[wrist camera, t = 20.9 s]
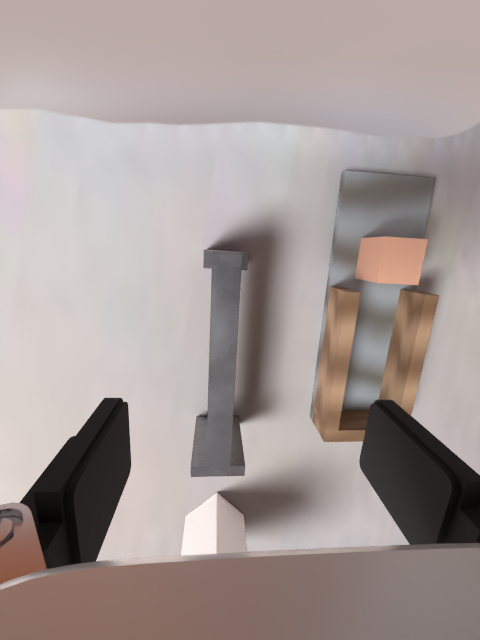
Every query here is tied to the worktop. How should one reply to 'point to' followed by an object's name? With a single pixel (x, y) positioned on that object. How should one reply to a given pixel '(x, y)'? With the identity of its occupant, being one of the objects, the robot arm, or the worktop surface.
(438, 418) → the worktop surface
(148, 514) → the worktop surface
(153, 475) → the worktop surface
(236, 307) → the grey long bar
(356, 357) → the cubby
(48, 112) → the worktop surface
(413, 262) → the cube
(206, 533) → the milk
